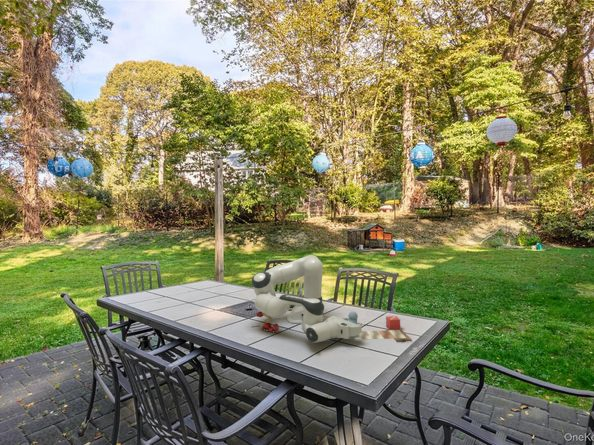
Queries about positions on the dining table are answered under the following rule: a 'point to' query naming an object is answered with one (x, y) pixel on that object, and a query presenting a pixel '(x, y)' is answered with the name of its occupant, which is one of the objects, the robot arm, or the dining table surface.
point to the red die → (392, 322)
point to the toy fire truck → (268, 324)
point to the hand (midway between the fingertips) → (354, 321)
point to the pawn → (353, 319)
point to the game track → (384, 335)
